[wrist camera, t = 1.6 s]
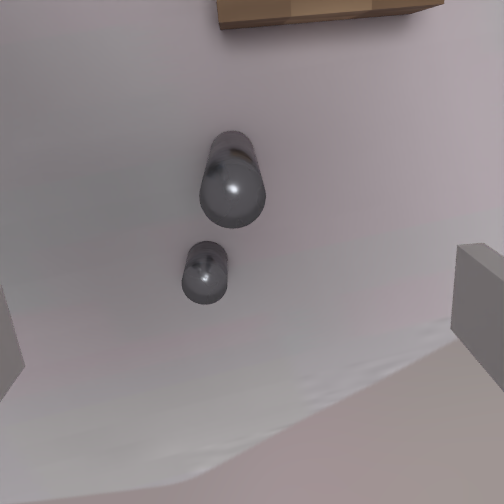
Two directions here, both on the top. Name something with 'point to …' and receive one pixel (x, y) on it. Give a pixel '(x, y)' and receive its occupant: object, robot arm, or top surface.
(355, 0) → the socket block
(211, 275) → the short pin
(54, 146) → the top surface
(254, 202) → the long pin
